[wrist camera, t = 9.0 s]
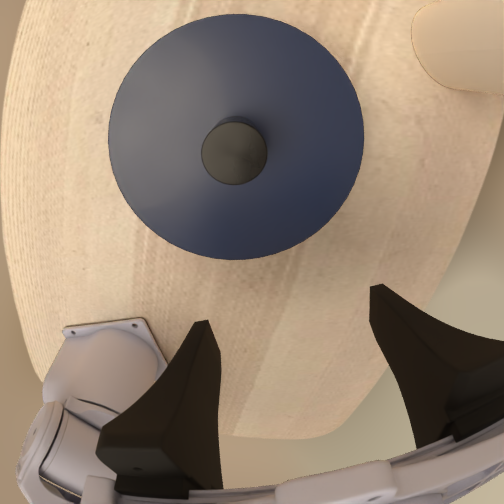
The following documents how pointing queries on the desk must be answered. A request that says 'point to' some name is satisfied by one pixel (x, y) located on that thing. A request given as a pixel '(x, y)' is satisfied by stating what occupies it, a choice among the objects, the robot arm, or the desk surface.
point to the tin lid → (236, 137)
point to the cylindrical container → (462, 43)
